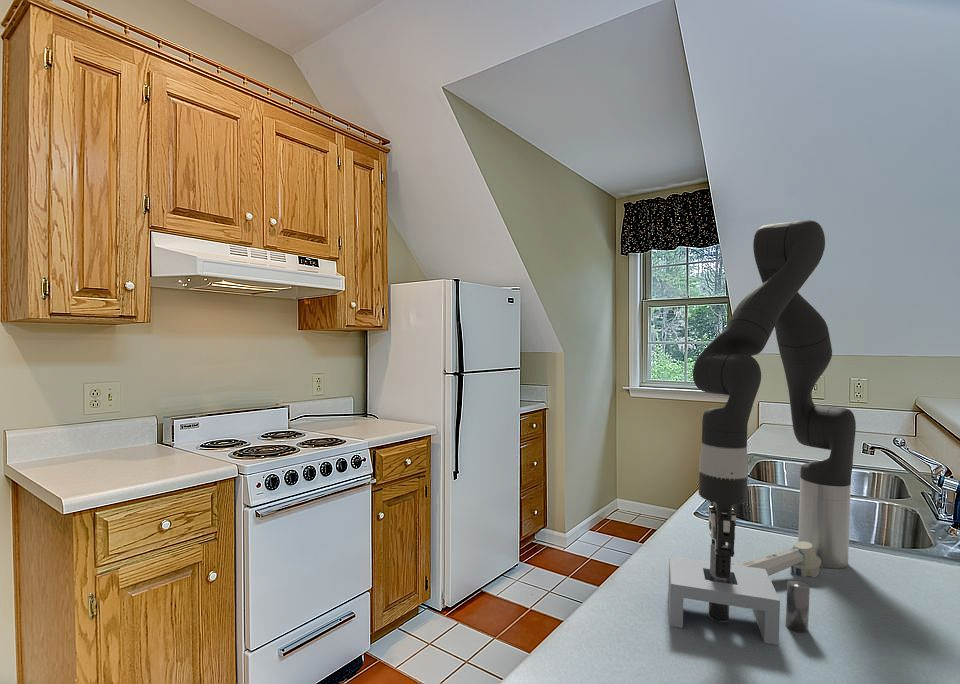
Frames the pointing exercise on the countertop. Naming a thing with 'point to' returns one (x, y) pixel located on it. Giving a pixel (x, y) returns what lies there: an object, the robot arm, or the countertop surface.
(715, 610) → the tall pin
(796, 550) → the beige toy mallet
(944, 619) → the countertop surface
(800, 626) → the short pin
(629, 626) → the countertop surface
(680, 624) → the bridge
